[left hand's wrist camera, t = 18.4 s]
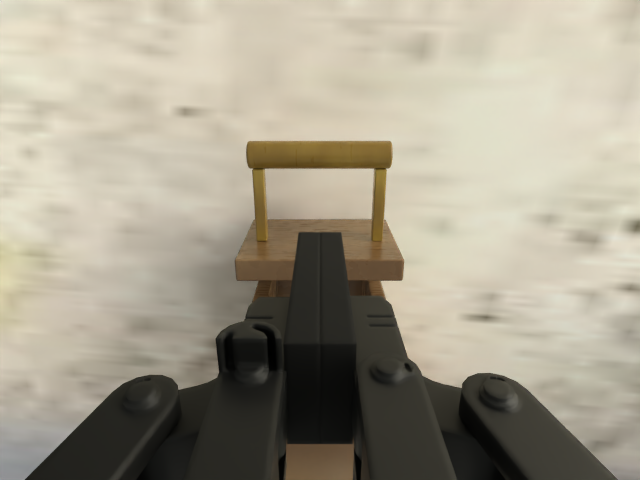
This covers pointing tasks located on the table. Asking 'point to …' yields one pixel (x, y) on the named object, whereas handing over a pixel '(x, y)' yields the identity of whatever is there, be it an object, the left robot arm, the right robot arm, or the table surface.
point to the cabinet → (319, 461)
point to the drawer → (282, 235)
